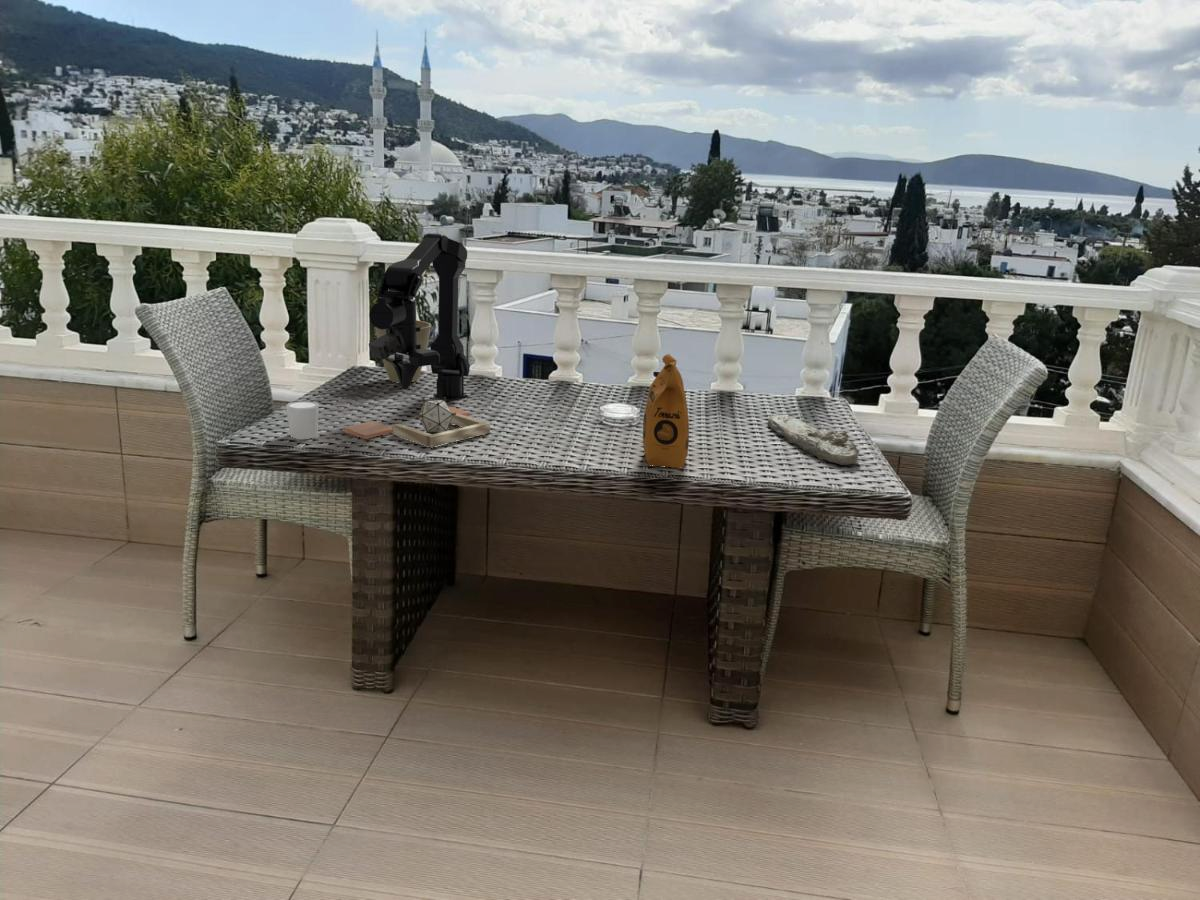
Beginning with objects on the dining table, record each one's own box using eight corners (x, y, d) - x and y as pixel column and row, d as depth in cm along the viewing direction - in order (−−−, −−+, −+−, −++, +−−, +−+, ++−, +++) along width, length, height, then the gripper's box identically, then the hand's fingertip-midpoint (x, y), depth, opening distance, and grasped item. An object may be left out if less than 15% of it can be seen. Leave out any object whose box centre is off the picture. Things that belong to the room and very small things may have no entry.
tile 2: (446, 409, 222) (446, 405, 222) (468, 416, 217) (468, 412, 217) (421, 414, 216) (421, 411, 216) (443, 421, 212) (443, 417, 211)
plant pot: (367, 384, 243) (365, 326, 239) (389, 373, 257) (387, 317, 253) (420, 389, 241) (419, 330, 236) (438, 377, 255) (438, 321, 250)
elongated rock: (792, 428, 226) (756, 432, 223) (792, 408, 225) (756, 412, 222) (872, 465, 194) (831, 469, 191) (873, 441, 192) (832, 446, 190)
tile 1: (373, 425, 206) (373, 421, 206) (394, 432, 201) (394, 428, 201) (343, 431, 200) (343, 427, 200) (365, 439, 195) (364, 435, 195)
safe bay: (452, 422, 212) (452, 411, 211) (489, 433, 204) (490, 423, 203) (393, 435, 199) (393, 424, 199) (431, 448, 191) (431, 437, 191)
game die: (441, 450, 203) (447, 424, 195) (407, 434, 203) (411, 407, 195) (458, 423, 208) (464, 396, 201) (425, 408, 208) (430, 380, 201)
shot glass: (327, 433, 198) (325, 403, 196) (307, 441, 192) (305, 410, 190) (300, 429, 200) (299, 399, 198) (280, 437, 194) (278, 406, 192)
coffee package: (639, 467, 186) (645, 363, 179) (641, 450, 198) (648, 351, 191) (687, 471, 185) (695, 366, 178) (687, 453, 197) (694, 354, 190)
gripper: (348, 320, 204) (351, 386, 208) (401, 332, 192) (403, 402, 197) (388, 315, 212) (390, 379, 217) (441, 326, 201) (441, 394, 205)
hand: (405, 388), depth 209 cm, fingers closed
